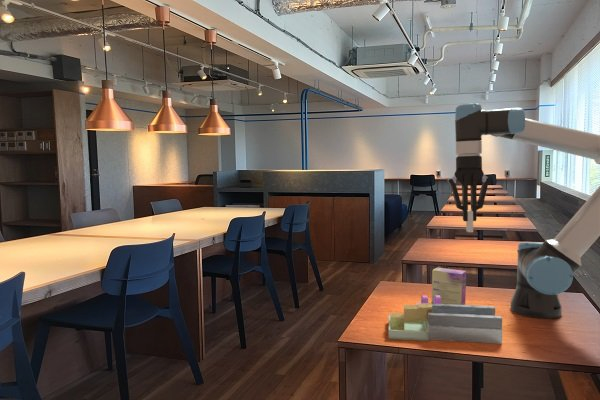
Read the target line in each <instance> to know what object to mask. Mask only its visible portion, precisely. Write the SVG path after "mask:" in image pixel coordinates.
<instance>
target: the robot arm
mask: <svg viewBox="0 0 600 400" xmlns="http://www.w3.org/2000/svg"><path fill="white" fill-rule="evenodd" d="M454 115H455V117H454V118H455V120H454V126H455V129H454V130H455V154H456V155H457V156H456V157H455V172H454V175H453V176H451V177H450V178H448V179H447V183H448V184H449V185H450V187H451V188H450V189H451V191H452V195H453V199H454V203H455V207H456V208H457V209H458V210H461V211H462V221H463V222H465V224H466V225H465V226H466V227H465V231H466V233H474V222H476V221H477V210H480V209H482V208H483V207H484V203H485V199H486V196H487V191H488V187H489V184H490V183H491V181H492V178H491V177H489V176H487V175H485V173H484V171H483V156H481V154H483V153H482V152H483V151H482V150H483V149H482V148H483V147H482V145H483V144H482V138H483V137H482V136H488V135H490V136H492V137H500V138H504V139H509V140H513V141H517V142H521V143H525V144H529V145H533V146H537V147H541V148H546V149H549V150H552V151H553V150H554V151H557V152H562V153H566V154H571V155H574V156H578V157H582V158H586V159H589V160H590V159H591V160H593V161H595V163H596V164H597V165H600V134H596V133H593V132H592V133H591V132H588V131H582V130H578V129H574V128H571V127H565V126H562V125H561V126H560V125H556V124H552V123H548V122H544V121H539V120H535V119H531V118H526V113H525V110H524V108H522V107H510V108H499V109H496V108H495V109H482V105H481V104H480V103H464V104H459V105H458V106H456V108H455V114H454ZM457 181H458V182H459V184H460V185H461V199H460V195H459V191H458V187H457V184H456V183H457ZM480 181H481V182H482V184H481V187H480V190H479V191H480V192H479V195H478V200H477V188H478V184H479V183H480ZM469 187H470V210H469V197H468V196H469V192H468V191H469ZM599 238H600V185H599V186H598V187H597V188H596V189H595V191H594V192H593V193H592V194H591V195H590V197H588V199H587V200H586V201H585V202H584V204H582V206H581V207H580V208H579V209H578V210H577V212H576V213H575V214H574V215H573V216H572V217H571V219H570V220H569V221H568V222H567V223H566V224H565V226H564V227H563V228H562V229H561V230H560V231H559V232H558V234H557V235H556V236H555V237H554V238H552V239H545V240H544V241H543V242H542V241H541V242H539V241H537V242H536V241H534V242H532V241H521V242H519V243H518V246H517V247H518V248H517V250H516V251H517V272H516V273H517V275H516V287H515V291H514V293H513V295H512V298H511V300H510V311H512V312H513V313H514V314H517V315H521V316H523V317H528V318H535V319H556V318H560V317H561V316H562V311H563V310H562V304H561V301H560V298H559V294H562V293H564V292H566V291H567V290H568V289H569V288H570V287H571V285H572V283H573V279H574V274H575V273H576V272H577V271H578V270H579V268H580V267H581V266H582V259H581V258H582V256H583V255H584V254H585V253H586V252H587V250H589V249H590V247H591V246H592V245H593V244H594V243H595V242H596V241H597V239H599Z"/></svg>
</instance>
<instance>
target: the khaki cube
mask: <svg viewBox="0 0 600 400" xmlns="http://www.w3.org/2000/svg"><path fill="white" fill-rule="evenodd" d="M390 330H404V312H403V313H401V312H390Z"/></svg>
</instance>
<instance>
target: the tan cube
mask: <svg viewBox="0 0 600 400" xmlns="http://www.w3.org/2000/svg"><path fill="white" fill-rule="evenodd" d="M403 313H404V320H405V323H419V315H418V305H416V304H403Z"/></svg>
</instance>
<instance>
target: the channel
mask: <svg viewBox="0 0 600 400" xmlns="http://www.w3.org/2000/svg"><path fill="white" fill-rule="evenodd" d="M431 304H432V309H433V313H428V321H426V322H427V326H428V331H429V341H445V342H463V343H476V344H478V343H479V344H494V345H495V344H498V345H500V344H501V345H502V344H503V317H502V316H501V315H496V307H495V306H494V305H473V304H472V305H471V304H464V305H454V304H434V303H431Z"/></svg>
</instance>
